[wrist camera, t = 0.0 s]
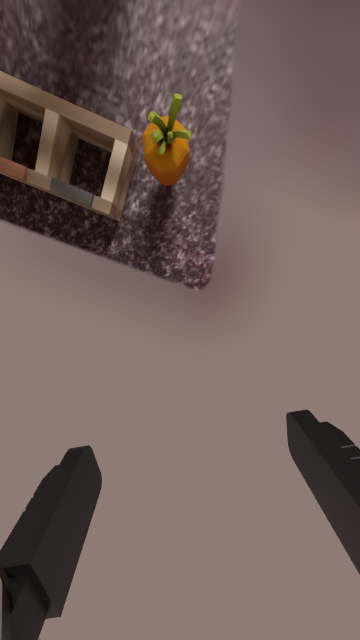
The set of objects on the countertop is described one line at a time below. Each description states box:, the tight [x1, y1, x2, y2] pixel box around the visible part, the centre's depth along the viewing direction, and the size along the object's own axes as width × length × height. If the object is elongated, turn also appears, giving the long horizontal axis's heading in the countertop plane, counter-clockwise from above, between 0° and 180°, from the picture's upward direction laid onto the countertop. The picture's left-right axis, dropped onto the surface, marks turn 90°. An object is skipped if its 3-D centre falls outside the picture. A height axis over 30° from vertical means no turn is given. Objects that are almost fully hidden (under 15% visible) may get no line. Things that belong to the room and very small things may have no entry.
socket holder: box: [0, 71, 139, 221], centre depth 28 cm, size 10×18×6 cm, turn 70°
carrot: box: [142, 94, 191, 186], centre depth 25 cm, size 5×5×15 cm
